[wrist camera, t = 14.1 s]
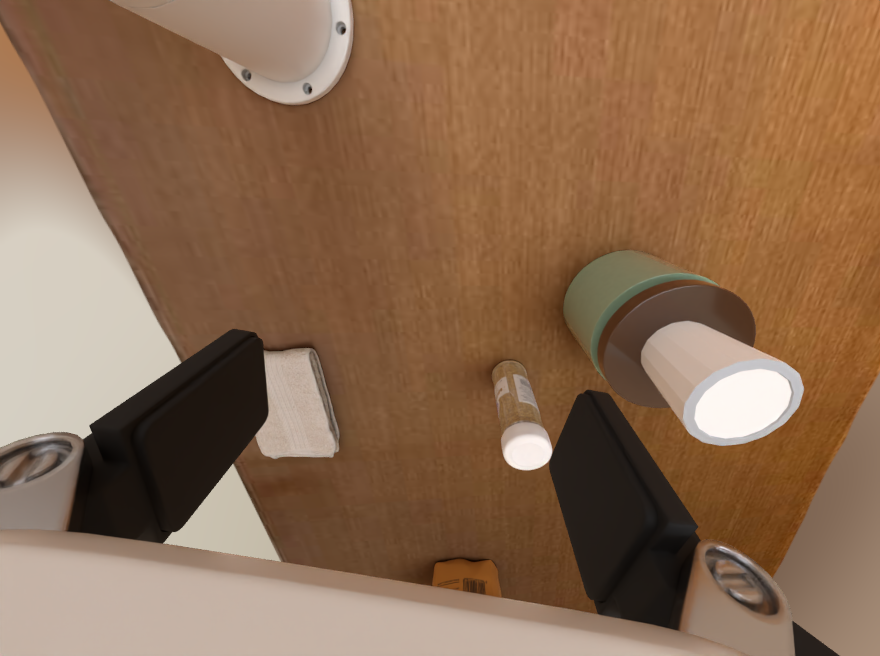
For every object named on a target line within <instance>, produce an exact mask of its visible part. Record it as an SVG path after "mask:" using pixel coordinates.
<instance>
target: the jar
mask: <svg viewBox="0 0 880 656" xmlns="http://www.w3.org/2000/svg"><path fill="white" fill-rule="evenodd" d="M563 313H564V319H565V323H566V325H567V327H568V329H569V330H570V332H571V333H572V335H573V336H574V338H575V339H576V341H577V342H578V344H579V345H580V346H581V348H582V349H583V351H584V352H585V354H586V355H587V357H588V358H589V360H590V361H591V362H592V364H593V365H594V367H595V368H596V370H597V371H598V373H599V374H600V375H601V376H602V377H603V378H604V379H605V380H606V381H607V382H608V383H609V385H610V386H611V387H612V389H613V390H614V391H615V392H616V393H617V394H618V395H620V396H621V397H622V398H624V399H626V400H627V401H629V402H632V403H634V404H637V405H641V406H644V407H651V408H670V405H669V404H668V403H667V401H666V400H665V398H664V397H663V396H662V394H661V393H660V391H659V390H658V389H657V387H656V386H655V384H654V383H653V382H652V380H651V379H650V377H649V376H648V374H647V373H646V372H645V370H644V368H643V366H642V364H641V351H642V349H643V347H644V345H645V343H646V341H647V340H648V339H649V338H650V337H651V336H652V335H653V334H654V333H655V332H656V331H657V330H659V329H661V328H663V327H665V326H667V325H669V324H671V323H676V322H682V321H691V322H696V323H701V324H703V325H705V326H707V327H710V328H712V329H714V330H716V331H718V332H720V333H722V334H725V335H727V336H729V337H731V338H733V339H735V340H737V341H740V342H742V343H744V344H746V345H748V346H750V347H752V348H753V345H754V342H755V336H756V325H755V321H754V317H753V315H752V312H751V310H750V309H749V307H748V306H747V304H746V303H745V302H744V301H743V300H742V299H741V298H740V297H739V296H737V295H736V294H734V293H733V292H730V291H728V290H726V289H724V288H722V287H720V286H719V285H718V284H716V283H715V282H713V281H712V280H710V279H708V278H705V277H703V276H701V275H698V274H696V273H694V272H691V271H689V270H687V269H684V268H682V267H680V266H677V265H675V264H673V263H670V262H668V261H666V260H663V259H661V258H658V257H656V256H654V255H651V254H649V253H646V252H643V251H637V250H623V251H617V252H612V253H609V254H606V255H604V256H602V257H599V258H597V259H596V260H594V261H592V262H591V263H589V264H588V265H587V266H586V267H584V268H583V269H582V270H581V271H580V272H579V273H578V274H577V276H576V277H575V278H574V279H573V281H572V283H571V284H570V286H569V288H568V290H567V292H566V295H565V299H564V304H563Z"/></svg>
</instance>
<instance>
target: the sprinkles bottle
mask: <svg viewBox="0 0 880 656" xmlns="http://www.w3.org/2000/svg"><path fill="white" fill-rule="evenodd" d="M492 381H493V383H494V389H495V398H496V403H497V409H498V416H499V420H500V425H501V430H502V438H501V445H502V451H503V456H504V458H505V460H506V461H507V463H508V464H510V465H511V466H512V467H514V468H517V469H521V470H533V469H537V468H539V467H542V466H543V465H545V464H546V463H547V462H548V461H549V459H550V458H551V455H552V446H551V443H550V439H549V436H548V434H547V432H546V430H545V429H544V427H543V424H542V421H541V418H540V412H539V409H538V407H537V404H536V401H535V398H534V395H533V392H532V389H531V386H530V383H529V381H528V379H527V372H526V370H525V368H524V366H523V365H522V364H520V363H519V362H516V361H503V362H501V363H499V364H498V365H497V366H496V367H495V368H494V369H493V372H492Z"/></svg>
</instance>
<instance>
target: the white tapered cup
mask: <svg viewBox="0 0 880 656" xmlns="http://www.w3.org/2000/svg"><path fill="white" fill-rule="evenodd" d="M641 364H642V366H643V368H644V370H645V372H646V373H647V374H648V376H649V377H650V379H651V380H652V382H653V383H654V384H655V386H656V387H657V389H658V390H659V391H660V393H661V394H662V396H663V397H664V398H665V400H666V401H667V403H668V404H669V405H670V407H671V408H672V410H673V411H674V413H675V414H676V415H677V417H678V418H679V420H680V421H681V422H682V424H683V425H684V427H685V428H686V429H687V431H688V432H689V434H691V435H693V436H694V437H696V438H697V439H699V440H700V441H702V442H704V443H710V444H715V445H721V446H725V445H735V444H744V443H747V442H750V441H752V440H755V439H758V438H761V437H764V436H766V435H768V434H769V433H771V432H772V431H774V430H775V429H777V428H778V427H780V426H781V425H783V424H784V423H786V421H787V420H788V419H789V418H790V417H791V415H792V414H793V413H794V412H795V411H796V409H797V408H798V407H799V405H800V401H801V398H802V394H803V391H804V387H803V384H802V381H801V378H800V374H799V373H798V372H796V371H795V370H794V369H793V368H791V367H790V366H789V365H787V364H786V363H784V362H782V361H780V360H778V359H776V358H774V357H772V356H770V355H767V354H765V353H763V352H761V351H759V350H757V349H755V348H752V347H750V346H748V345H746V344H744V343H742V342H740V341H737V340H735V339H733V338H731V337H729V336H727V335H725V334H722V333H720V332H718V331H716V330H714V329H712V328H710V327H707V326H705V325H703V324H701V323H696V322H691V321H682V322H676V323H671V324H669V325H667V326H665V327H663V328H661V329H659V330H657V331H656V332H655V333H654V334H653V335H652V336H651V337H650V338H649V339H648V340H647V341H646V343H645V345H644V347H643V349H642V351H641Z"/></svg>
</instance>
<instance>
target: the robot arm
mask: <svg viewBox="0 0 880 656" xmlns="http://www.w3.org/2000/svg"><path fill="white" fill-rule="evenodd" d="M109 1H111V2H113V3H115V4H117V5H119V6H121V7H123V8H125V9H127V10H129V11H131V12H133V13H135V14H137V15H139V16H141V17H143V18H145V19H147V20H150V21H152V22H154V23H156V24H158V25H160V26H162V27H164V28H166V29H168V30H170V31H172V32H174V33H176V34H178V35H180V36H182V37H184V38H186V39H188V40H190V41H192V42H194V43H196V44H198V45H200V46H202V47H205V48H207V49H209V50H211V51H213V52H215V53H217V54H219V55H221V57H222V59H223V61H224V62H225V63H226V65H227V66H228V67H229V69H230V70H231V71H232V72H233V74H234V75H235V76H236V77H237V78H238V79H239V80H240V81H241V82H242V83H243V84H244V85H245V86H247V87H248V88H250V89H251V90H252V91H254V92H255V93H257V94H258V95H260V96H262V97H265V98H267V99H269V100H271V101H274V102H278V103H281V104H287V105H302V104H308V103H311V102H313V101H316V100H318V99H320V98H321V97H323V96H324V95H326V94H327V93H328V92H329V91H330V90H331V89H332V88H333V87H334V86H335V85H336V84H337V83H338V81H339V79H340V78H341V76H342V74H343V72H344V71H345V68H346V66H347V63H348V60H349V57H350V54H351V48H352V43H353V28H354V19H353V11H352V2H351V0H109ZM343 29H346V32H345V33H344V34H343V35H342V30H343ZM250 75H251V79H250ZM310 88H312V93H311V94H310V93H309V89H310ZM268 414H269V407H268V395H267V383H266V372H265V360H264V348H263V341H262V339H260V338H258V336H257V334H256V333H254V332H249V331H244V330H238V329H232V330H230V331H228V332H227V333H225V334H224V335H222V336H221V337H219V338H218V339H217V340H215V341H214V342H212V343H211V344H209V345H208V346H206V347H205V348H203V349H202V350H200V351H199V352H197V353H196V354H194V355H193V356H191V357H190V358H188V359H187V360H185V361H184V362H182V363H181V364H179V365H178V366H177V367H175V368H174V369H172V370H171V371H169V372H168V373H166V374H165V375H163V376H162V377H160V378H159V379H157V380H156V381H154V382H153V383H151V384H150V385H148V386H147V387H145V388H144V389H142V390H141V391H140V392H138V393H137V394H135V395H134V396H132V397H131V398H129V399H128V400H126V401H125V402H123V403H122V404H120V405H119V406H117V407H116V408H114V409H113V410H112V411H110V412H109V413H107V414H105V415H104V416H103V417H101V418H100V419H98V420H97V421H95V422H94V423H92V424H91V425H90V429H91V431H92V434H90V435H89V436H87V437H86V438H85V439H81V438H80V437H79V436H78V435H75V434H71V433H67V432H66V433H65V432H61V433H60V432H57V433H56V432H55V433H54V432H53V433H47V434H40V435H35V436H32V437H28V438H25V439H21V440H18V441H15V442H13V443H10V444H8V445H6V446H4V447H1V448H0V656H839V655H838V654H837V653H835V652H834V651H833V650H831V649H830V648H828V647H827V646H826V645H824V644H823V643H822V642H820V641H819V640H818V639H816V638H815V637H814V636H812V635H811V634H810V633H808V632H806V630H804V629H803V628H801V627H800V626H799V625H797V624H796V623H795V622H793V621H792V613H791V610H790V607H789V604H788V601H787V599H786V597H785V596H784V594H783V592H782V591H781V589H780V587H779V586H778V585H777V584H776V583H775V581H774V580H773V579H772V578H771V577H770V575H769V574H768V573H767V572H766V571H765V570H764V569H762V568H761V567H760V566H759V565H758V564H757V563H756V562H755V561H753V560H752V559H751V558H749V557H748V556H747V555H745V554H744V553H743V552H741V551H739V550H737V549H736V548H734V547H732V546H730V545H728V544H726V543H723V542H720V541H717V540H708V539H706V540H703V541H700V539H699V537H698V536H697V534H696V533H695V530H696V529H697V528H698V526H697V524H696V523H695V521H694V520H693V518H692V517H691V515H690V514H689V512H688V511H687V509H686V508H685V506H684V505H683V503H682V502H681V500H680V499H679V497H678V496H677V494H676V493H675V491H674V490H673V488H672V487H671V485H670V484H669V482H668V481H667V479H666V478H665V476H664V475H663V473H662V472H661V470H660V469H659V467H658V466H657V464H656V463H655V461H654V460H653V459H652V457H651V456H650V454H649V453H648V451H647V450H646V448H645V447H644V445H643V444H642V442H641V441H640V439H639V438H638V436H637V435H636V433H635V432H634V430H633V429H632V427H631V426H630V424H629V423H628V421H627V420H626V418H625V417H624V415H623V414H622V412H621V411H620V409H619V408H618V406H617V405H616V403H615V402H614V400H613V399H612V397H611V396H610V395H609V394H608V393H604V392H598V391H592V390H586V391H585V392H584V393H583V394H579V395H578V396H577V398H576V400H575V402H574V405H573V407H572V409H571V412H570V414H569V416H568V419H567V421H566V423H565V426H564V428H563V430H562V433H561V435H560V437H559V440H558V442H557V444H556V447H555V449H554V451H553V454H552V456H551V458H550V463H549V468H550V473H551V476H552V480H553V483H554V487H555V490H556V493H557V497H558V500H559V503H560V507H561V510H562V514H563V517H564V520H565V524H566V527H567V530H568V534H569V537H570V541H571V544H572V547H573V551H574V554H575V557H576V561H577V564H578V568H579V571H580V574H581V578H582V581H583V584H584V588H585V591H586V594H587V595H588V597H589V598H590V599H591V600H594V603H595V606H596V609H597V612H598V614H593V613H588V612H583V611H577V610H572V609H566V608H560V607H554V606H548V605H542V604H536V603H530V602H524V601H518V600H512V599H506V598H500V597H494V596H488V595H482V594H476V593H470V592H464V591H458V590H452V589H446V588H440V587H434V586H428V585H422V584H415V583H409V582H403V581H397V580H391V579H385V578H379V577H372V576H366V575H360V574H354V573H348V572H341V571H335V570H329V569H323V568H316V567H310V566H304V565H298V564H291V563H285V562H278V561H272V560H266V559H259V558H253V557H246V556H239V555H234V554H227V553H221V552H214V551H208V550H201V549H195V548H189V547H182V546H175V545H169V544H163V543H164V542H165V540H166V539H167V538H168V536H169V535H170V534H171V533H172V532H176V531H178V530H180V529H181V528H182V527H183V526H184V525H185V523H186V522H187V521H188V520H189V518H190V517H191V516H192V515H193V513H194V512H195V511H196V509H197V508H198V507H199V506H200V505H201V503H202V502H203V501H204V499H205V498H206V497H207V496H208V494H209V493H210V492H211V490H212V489H213V488H214V487H215V486H216V484H217V483H218V482H219V480H220V479H221V478H222V477H223V475H224V474H225V473H226V471H227V470H228V469H229V468H230V466H231V465H232V464H233V463H234V462H235V460H236V459H237V458H238V456H239V455H240V454H241V453H242V451H243V450H244V449H245V448H246V446H247V445H248V444H249V443H250V441H251V440H252V439H253V437H254V436H255V435H256V434H257V432H258V431H259V430H260V429H261V427H262V426H263V425H264V423H265V422H266V420H267V417H268Z"/></svg>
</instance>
